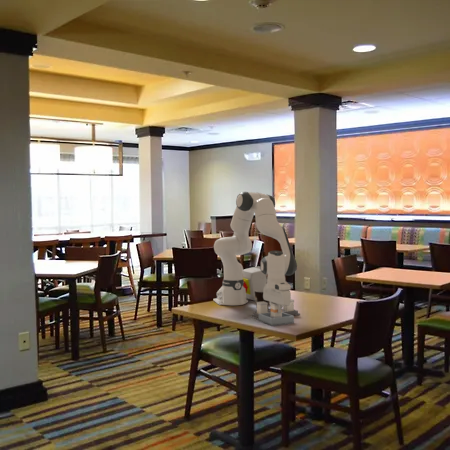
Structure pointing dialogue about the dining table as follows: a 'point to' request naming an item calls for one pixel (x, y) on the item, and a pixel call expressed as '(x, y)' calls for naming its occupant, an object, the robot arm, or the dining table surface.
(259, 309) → the fuse
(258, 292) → the coffee mug
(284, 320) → the tray
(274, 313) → the fuse marked
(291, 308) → the fuse
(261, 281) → the electrical switch box
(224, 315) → the dining table surface
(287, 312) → the holder
